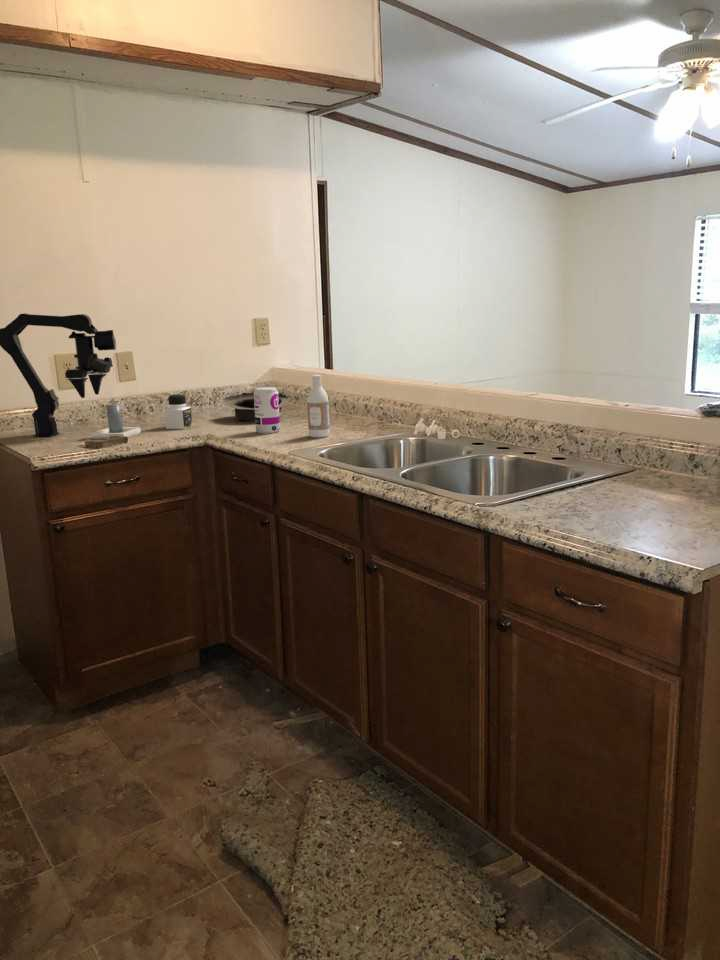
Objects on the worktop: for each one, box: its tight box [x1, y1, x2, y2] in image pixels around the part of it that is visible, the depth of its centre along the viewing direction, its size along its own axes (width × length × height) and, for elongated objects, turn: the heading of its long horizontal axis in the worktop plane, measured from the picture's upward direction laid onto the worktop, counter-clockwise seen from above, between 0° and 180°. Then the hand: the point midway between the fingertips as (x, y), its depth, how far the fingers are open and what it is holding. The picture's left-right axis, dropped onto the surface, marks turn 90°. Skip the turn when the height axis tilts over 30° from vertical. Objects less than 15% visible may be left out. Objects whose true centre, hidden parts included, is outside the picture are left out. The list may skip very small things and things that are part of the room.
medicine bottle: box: [164, 393, 193, 430], centre depth 281 cm, size 7×7×12 cm
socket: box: [84, 435, 129, 449], centre depth 253 cm, size 8×11×2 cm
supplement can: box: [253, 386, 281, 435], centre depth 267 cm, size 8×8×15 cm
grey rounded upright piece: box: [105, 403, 125, 433], centre depth 267 cm, size 6×6×10 cm
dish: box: [90, 427, 142, 440], centre depth 268 cm, size 12×12×2 cm
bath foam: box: [306, 374, 330, 439], centre depth 255 cm, size 7×7×20 cm
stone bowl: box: [223, 391, 290, 423], centre depth 297 cm, size 25×25×9 cm
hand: (90, 396), depth 273 cm, fingers open, 9 cm apart
